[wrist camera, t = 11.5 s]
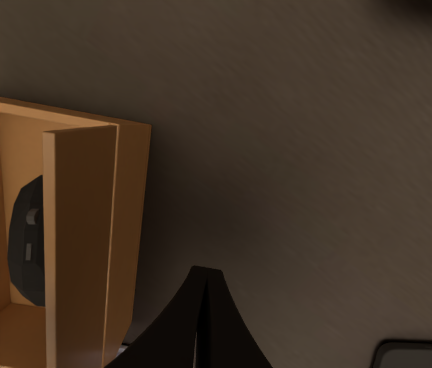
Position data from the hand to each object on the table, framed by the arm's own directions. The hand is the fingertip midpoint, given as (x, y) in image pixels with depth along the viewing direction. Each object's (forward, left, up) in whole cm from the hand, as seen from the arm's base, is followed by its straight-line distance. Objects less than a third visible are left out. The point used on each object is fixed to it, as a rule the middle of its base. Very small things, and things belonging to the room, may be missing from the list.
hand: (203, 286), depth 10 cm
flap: (-3, +5, 0) cm, 6 cm away
